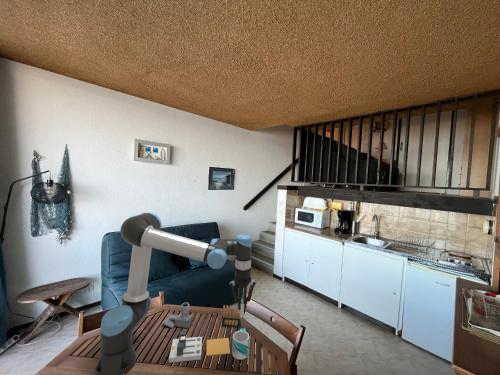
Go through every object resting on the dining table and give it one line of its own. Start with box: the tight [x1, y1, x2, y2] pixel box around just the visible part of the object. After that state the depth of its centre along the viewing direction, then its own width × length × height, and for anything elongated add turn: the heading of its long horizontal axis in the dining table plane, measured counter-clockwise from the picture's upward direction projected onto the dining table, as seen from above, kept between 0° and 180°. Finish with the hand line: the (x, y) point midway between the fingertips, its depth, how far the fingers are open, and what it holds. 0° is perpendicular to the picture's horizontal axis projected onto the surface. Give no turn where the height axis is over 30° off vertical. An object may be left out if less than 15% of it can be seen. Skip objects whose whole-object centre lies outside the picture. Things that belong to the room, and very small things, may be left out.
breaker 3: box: [177, 342, 184, 356], centre depth 103 cm, size 3×3×4 cm
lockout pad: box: [206, 337, 231, 357], centre depth 110 cm, size 11×10×1 cm
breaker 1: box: [178, 330, 186, 343], centre depth 110 cm, size 3×3×4 cm
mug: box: [231, 327, 251, 361], centre depth 109 cm, size 8×12×8 cm
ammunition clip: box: [221, 304, 242, 329], centre depth 126 cm, size 11×2×12 cm, turn 87°
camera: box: [161, 302, 193, 329], centre depth 126 cm, size 9×12×15 cm
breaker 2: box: [180, 335, 187, 349], centre depth 107 cm, size 3×3×4 cm
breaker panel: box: [168, 336, 203, 364], centre depth 107 cm, size 14×12×2 cm
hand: (241, 315), depth 109 cm, fingers closed
